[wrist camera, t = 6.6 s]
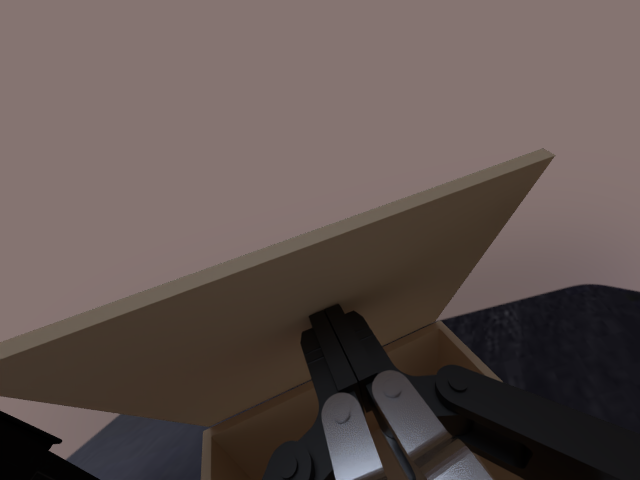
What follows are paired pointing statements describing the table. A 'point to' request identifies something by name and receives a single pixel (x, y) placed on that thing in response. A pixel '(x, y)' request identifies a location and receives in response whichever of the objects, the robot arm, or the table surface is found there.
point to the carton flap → (268, 307)
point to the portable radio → (32, 454)
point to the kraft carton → (302, 410)
